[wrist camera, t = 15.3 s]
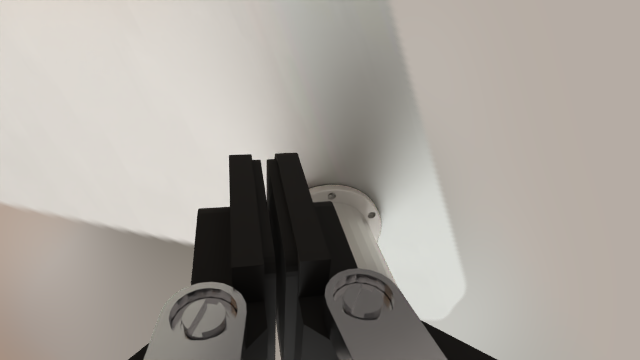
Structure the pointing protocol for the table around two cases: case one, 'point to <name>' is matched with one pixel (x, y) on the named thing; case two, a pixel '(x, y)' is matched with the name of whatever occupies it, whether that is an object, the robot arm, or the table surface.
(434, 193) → the table surface
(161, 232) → the table surface
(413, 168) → the table surface
